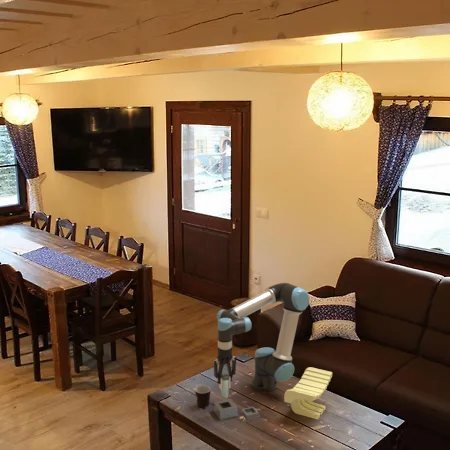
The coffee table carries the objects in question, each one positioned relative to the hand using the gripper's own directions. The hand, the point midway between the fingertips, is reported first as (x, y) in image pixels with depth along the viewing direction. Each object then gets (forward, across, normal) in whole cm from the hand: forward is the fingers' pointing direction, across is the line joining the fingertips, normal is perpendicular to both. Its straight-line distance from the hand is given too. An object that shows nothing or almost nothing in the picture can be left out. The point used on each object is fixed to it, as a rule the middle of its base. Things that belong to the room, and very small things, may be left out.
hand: (224, 387), depth 304 cm
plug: (+5, 0, 0) cm, 5 cm away
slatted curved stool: (+16, -44, +13) cm, 49 cm away
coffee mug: (+17, +6, -15) cm, 23 cm away
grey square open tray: (+16, -12, +6) cm, 21 cm away
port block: (+16, 0, 0) cm, 16 cm away
